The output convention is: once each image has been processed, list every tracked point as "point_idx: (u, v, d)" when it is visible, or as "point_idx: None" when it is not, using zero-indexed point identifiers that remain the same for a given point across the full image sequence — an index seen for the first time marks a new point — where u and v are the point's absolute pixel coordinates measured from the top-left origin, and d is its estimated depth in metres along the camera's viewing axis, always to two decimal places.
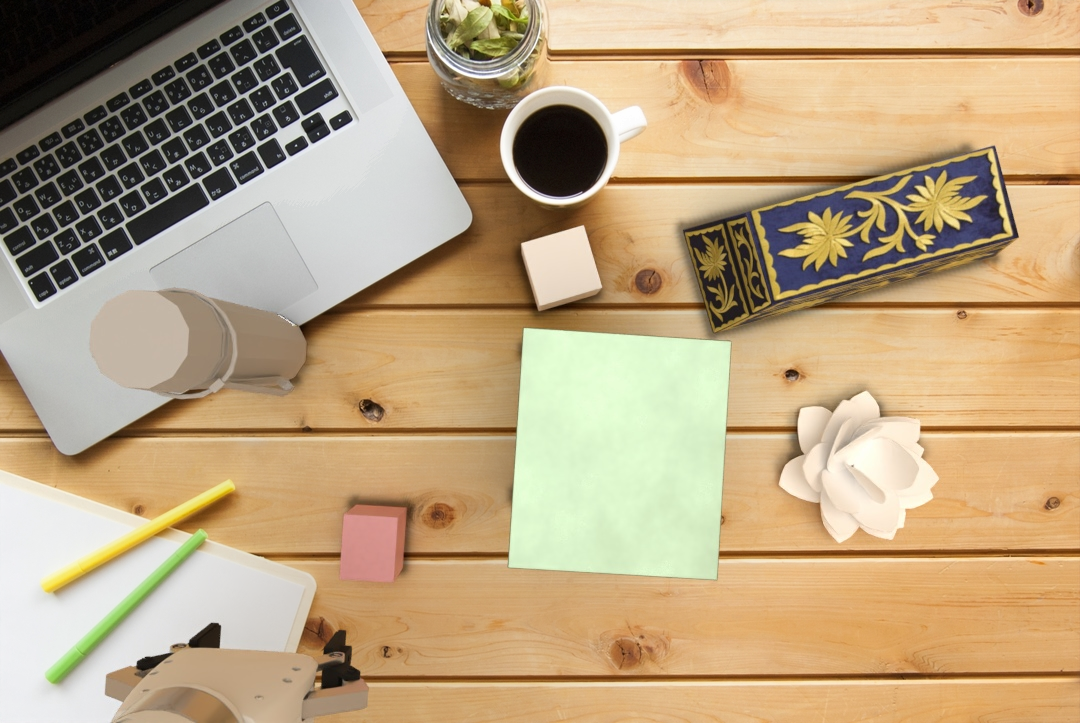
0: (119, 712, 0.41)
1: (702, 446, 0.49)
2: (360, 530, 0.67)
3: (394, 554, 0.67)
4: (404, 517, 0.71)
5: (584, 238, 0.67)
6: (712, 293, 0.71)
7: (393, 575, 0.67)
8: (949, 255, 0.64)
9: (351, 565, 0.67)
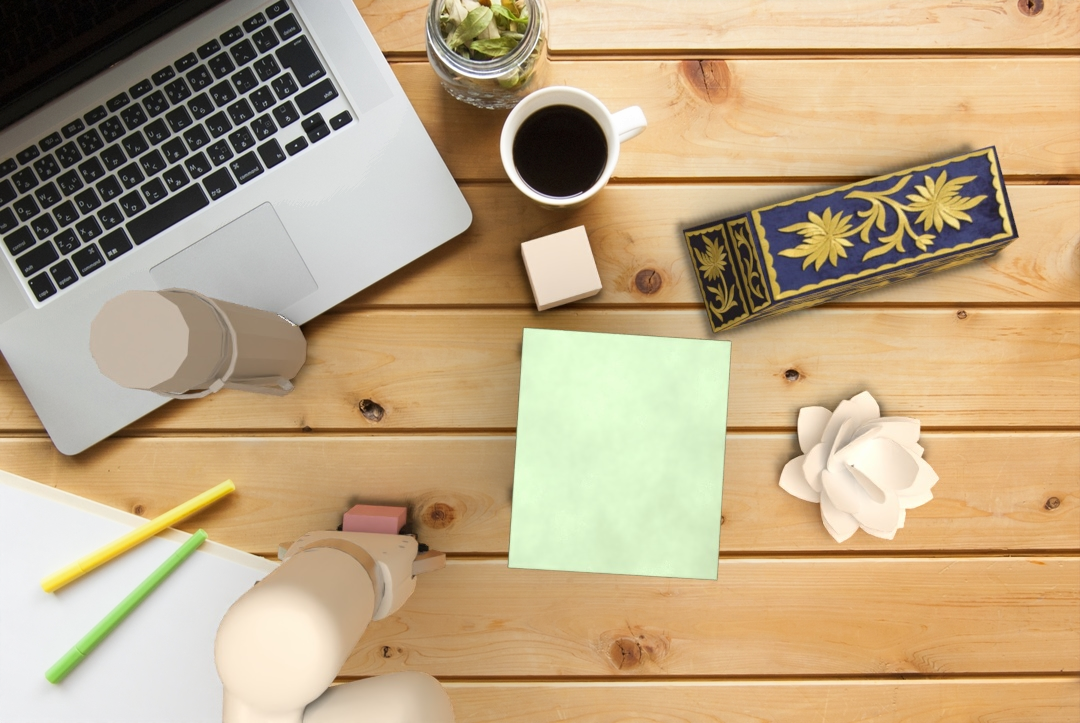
0: (287, 558, 0.55)
1: (702, 446, 0.49)
2: (360, 530, 0.67)
3: None
4: (404, 517, 0.71)
5: (584, 238, 0.67)
6: (712, 293, 0.71)
7: None
8: (949, 255, 0.64)
9: None
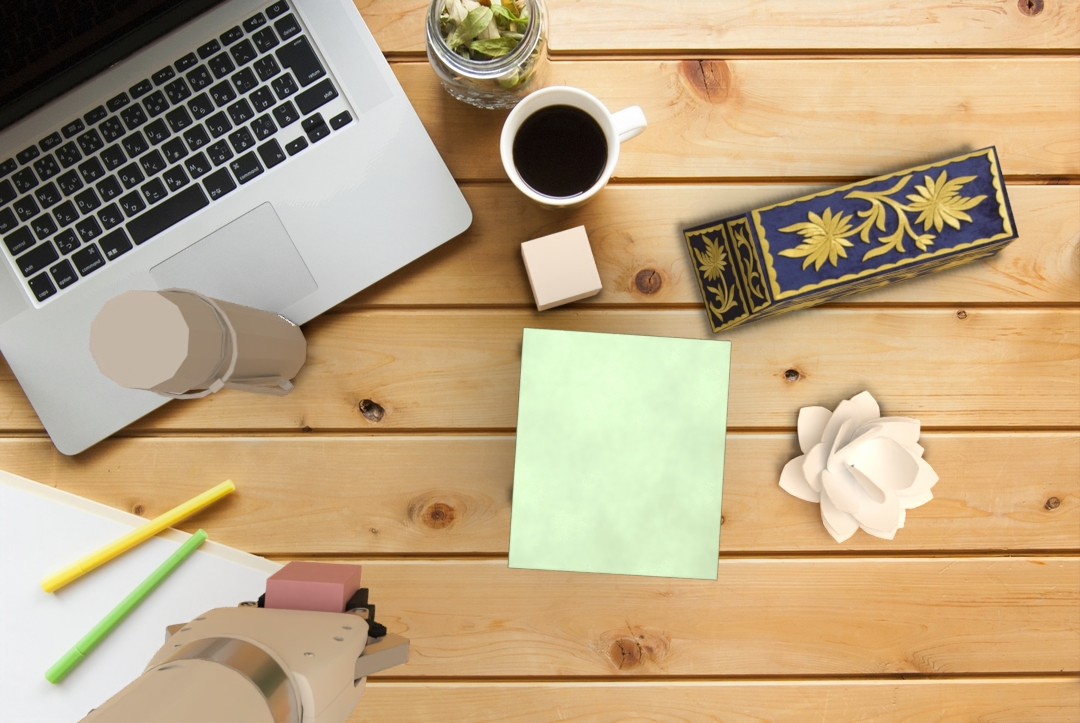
0: (149, 667, 0.35)
1: (702, 446, 0.49)
2: (290, 601, 0.47)
3: None
4: (357, 580, 0.51)
5: (584, 238, 0.67)
6: (712, 293, 0.71)
7: None
8: (949, 255, 0.64)
9: None
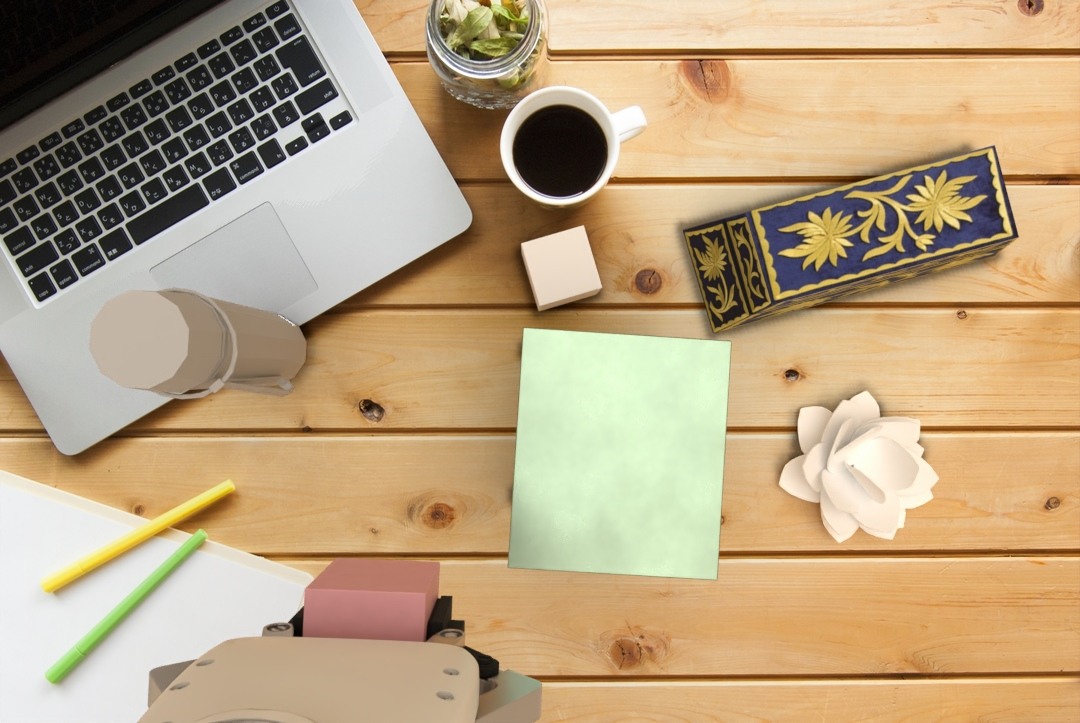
0: None
1: (702, 446, 0.49)
2: (343, 623, 0.30)
3: None
4: (436, 584, 0.34)
5: (584, 238, 0.67)
6: (712, 293, 0.71)
7: None
8: (949, 255, 0.64)
9: None
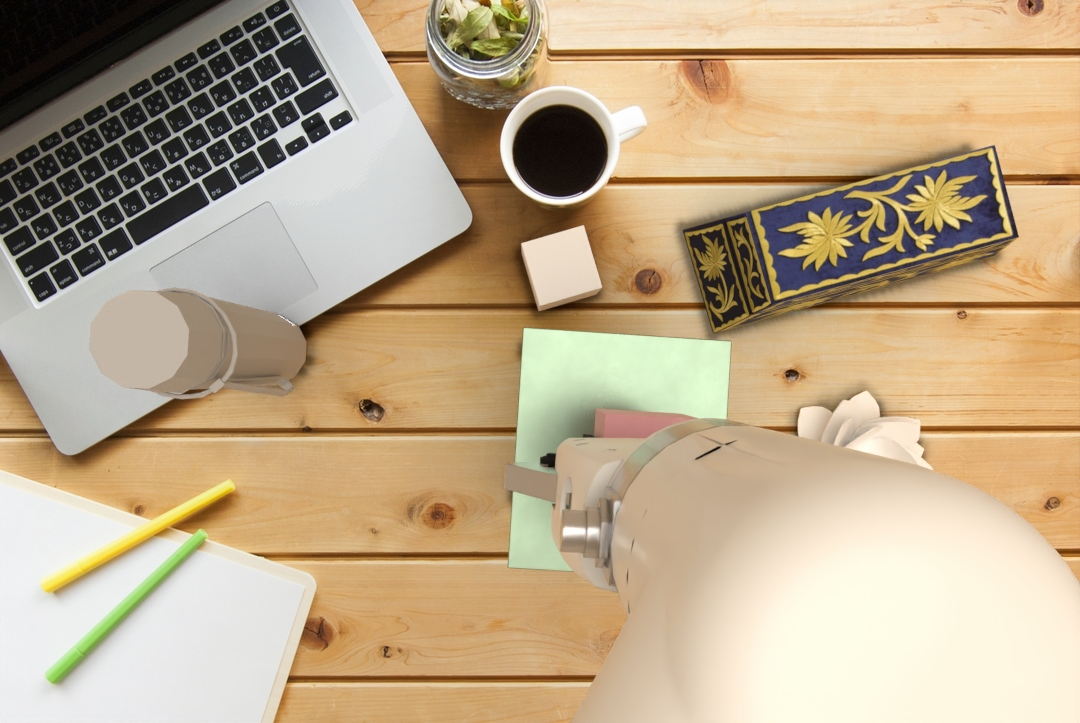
0: (606, 465, 0.25)
1: None
2: None
3: None
4: None
5: (584, 238, 0.67)
6: (712, 293, 0.71)
7: None
8: (949, 255, 0.64)
9: None
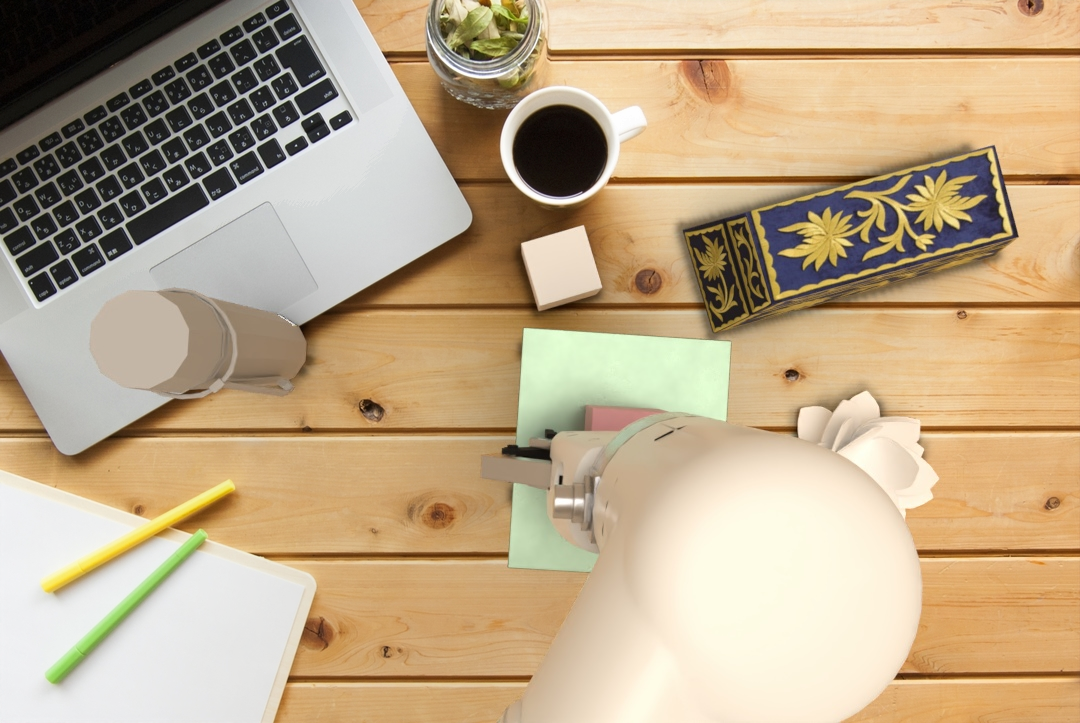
0: (590, 450, 0.31)
1: None
2: None
3: None
4: None
5: (584, 238, 0.67)
6: (712, 293, 0.71)
7: None
8: (949, 255, 0.64)
9: None
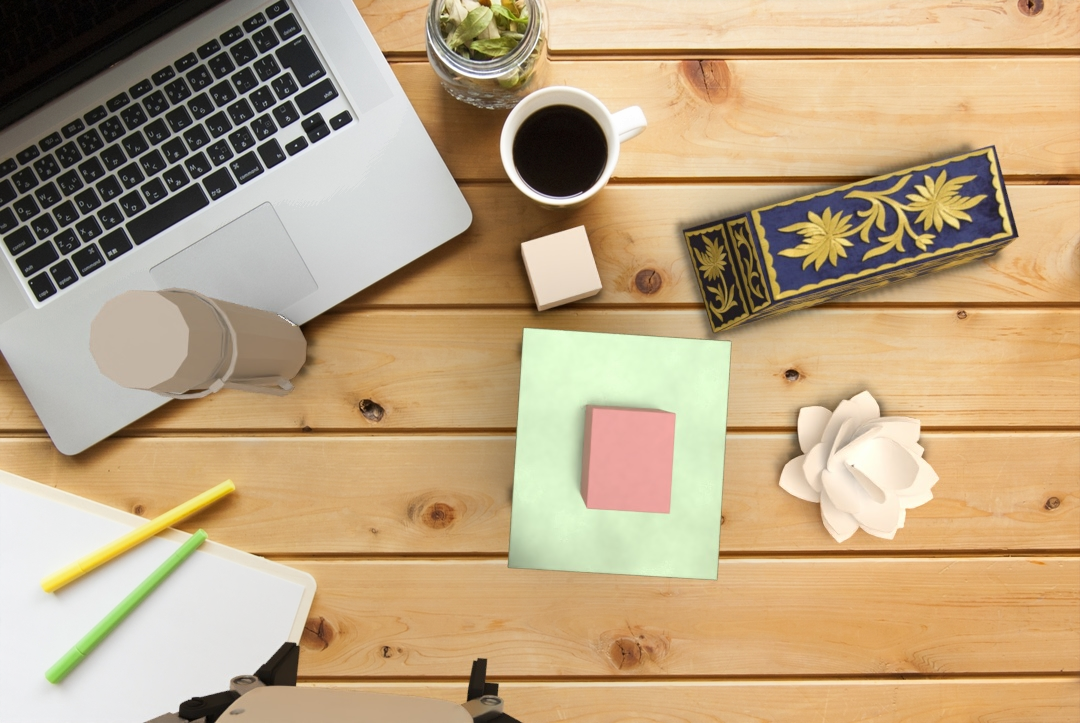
0: None
1: (702, 446, 0.49)
2: (618, 432, 0.44)
3: (670, 470, 0.44)
4: None
5: (584, 238, 0.67)
6: (712, 293, 0.71)
7: (669, 502, 0.44)
8: (949, 255, 0.64)
9: (605, 486, 0.44)
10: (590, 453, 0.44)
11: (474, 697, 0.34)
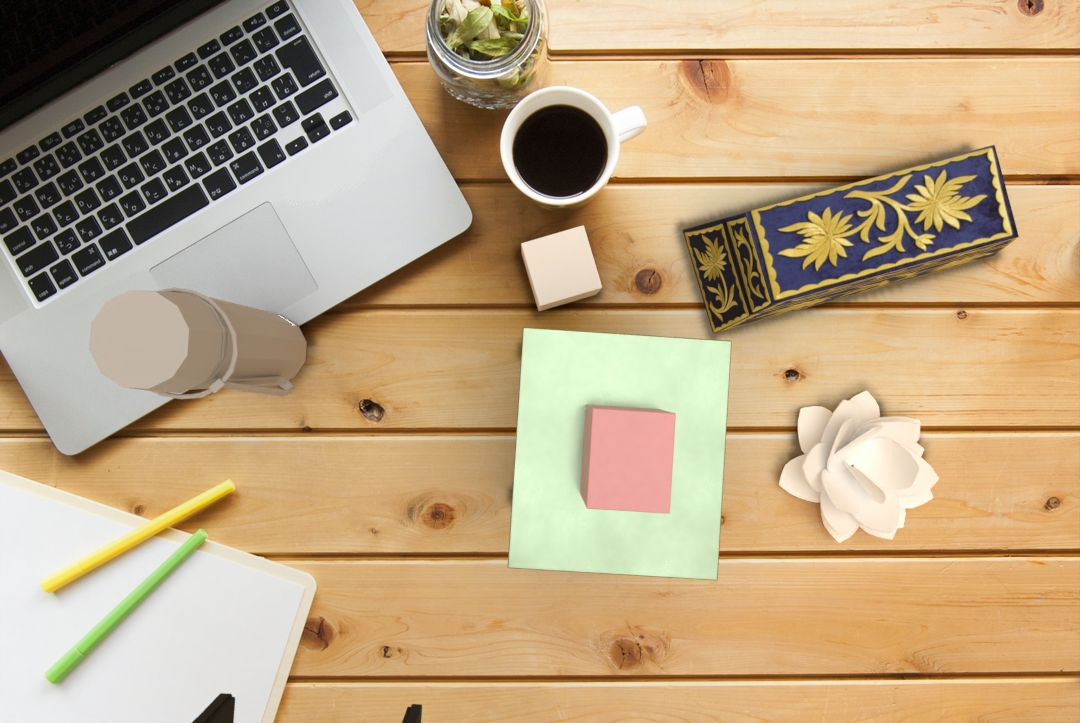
0: None
1: (702, 446, 0.49)
2: (618, 432, 0.44)
3: (670, 470, 0.44)
4: None
5: (584, 238, 0.67)
6: (712, 293, 0.71)
7: (669, 502, 0.44)
8: (949, 254, 0.64)
9: (605, 486, 0.44)
10: (590, 453, 0.44)
11: None
